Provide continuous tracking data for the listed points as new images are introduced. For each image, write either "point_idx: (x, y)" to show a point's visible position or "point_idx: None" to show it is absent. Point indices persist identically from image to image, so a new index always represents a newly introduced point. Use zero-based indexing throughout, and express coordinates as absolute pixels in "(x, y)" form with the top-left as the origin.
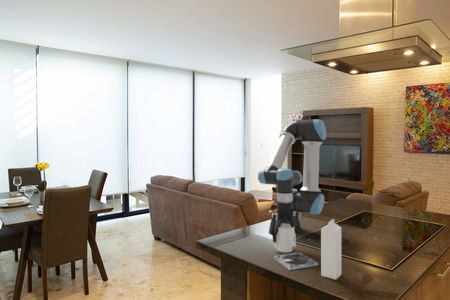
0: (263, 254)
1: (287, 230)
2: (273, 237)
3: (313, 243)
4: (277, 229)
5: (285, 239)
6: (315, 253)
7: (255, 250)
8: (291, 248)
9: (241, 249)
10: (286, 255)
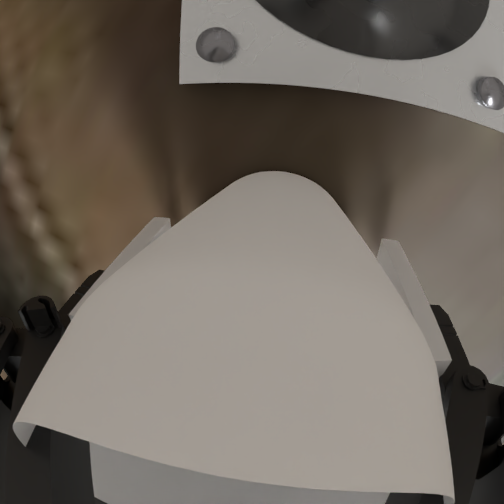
0: (495, 247)
1: (328, 397)
2: (457, 362)
3: (18, 257)
4: (463, 469)
5: (349, 241)
6: (60, 67)
7: (471, 332)
8: (232, 184)
9: (501, 366)
10: (406, 52)
